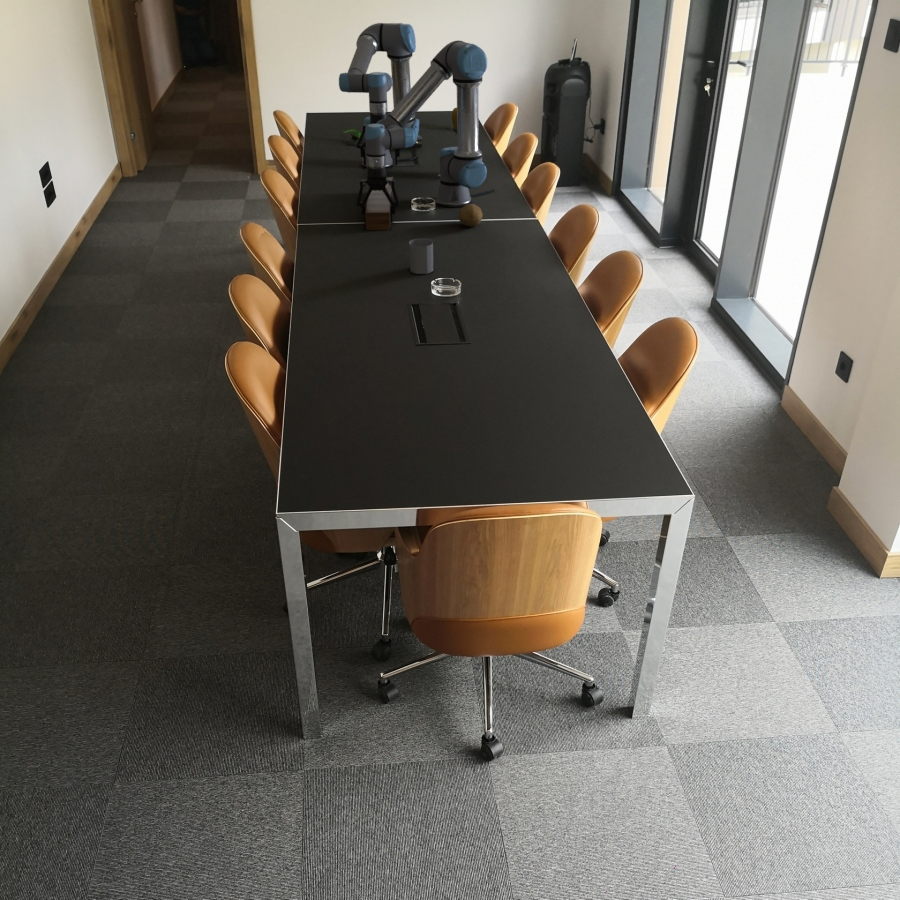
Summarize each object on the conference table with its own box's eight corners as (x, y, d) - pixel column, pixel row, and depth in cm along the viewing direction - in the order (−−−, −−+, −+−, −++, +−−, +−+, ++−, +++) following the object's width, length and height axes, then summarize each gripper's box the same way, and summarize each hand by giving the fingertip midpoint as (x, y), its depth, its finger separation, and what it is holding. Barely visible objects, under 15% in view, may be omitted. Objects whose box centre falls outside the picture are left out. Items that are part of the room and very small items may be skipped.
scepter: (397, 126, 468) (342, 124, 466) (397, 141, 461) (341, 139, 459) (397, 135, 473) (342, 133, 471) (397, 150, 466) (341, 148, 463)
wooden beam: (372, 192, 388) (371, 177, 385) (393, 192, 388) (392, 177, 385) (366, 230, 345) (365, 212, 341) (390, 229, 345) (389, 212, 342)
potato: (480, 219, 356) (481, 200, 351) (484, 230, 344) (484, 210, 340) (457, 220, 355) (457, 200, 351) (459, 231, 343) (459, 211, 339)
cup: (409, 265, 311) (408, 238, 306) (432, 265, 312) (431, 238, 307) (410, 274, 304) (409, 246, 299) (433, 273, 305) (433, 246, 299)
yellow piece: (471, 132, 486) (471, 108, 479) (451, 132, 486) (451, 108, 479) (470, 128, 495) (471, 104, 488) (452, 128, 495) (452, 104, 488)
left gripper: (348, 114, 359) (351, 166, 371) (408, 114, 360) (409, 166, 371) (349, 111, 365) (352, 162, 377) (408, 110, 366) (409, 162, 377)
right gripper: (347, 168, 336) (350, 225, 348) (404, 168, 337) (406, 225, 349) (348, 163, 342) (351, 219, 354) (405, 163, 343) (406, 219, 355)
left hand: (380, 164), depth 374 cm, fingers open, 13 cm apart
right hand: (378, 222), depth 352 cm, fingers open, 10 cm apart
